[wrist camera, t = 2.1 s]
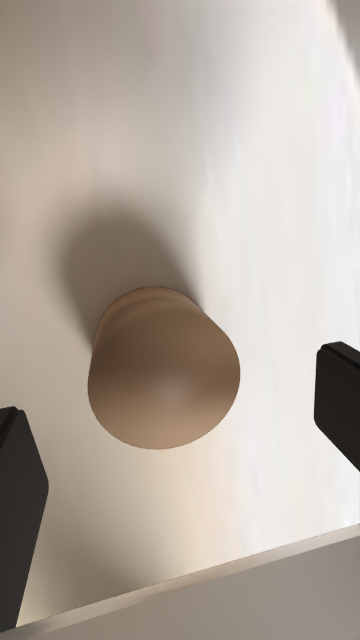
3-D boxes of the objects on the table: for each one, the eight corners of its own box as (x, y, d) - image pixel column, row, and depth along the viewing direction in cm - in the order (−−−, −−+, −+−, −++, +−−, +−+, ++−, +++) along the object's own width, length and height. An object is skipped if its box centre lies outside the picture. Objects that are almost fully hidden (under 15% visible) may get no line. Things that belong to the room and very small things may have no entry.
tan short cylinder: (183, 404, 20) (204, 461, 15) (79, 377, 18) (66, 432, 13) (225, 309, 18) (264, 339, 14) (118, 268, 16) (120, 286, 12)
